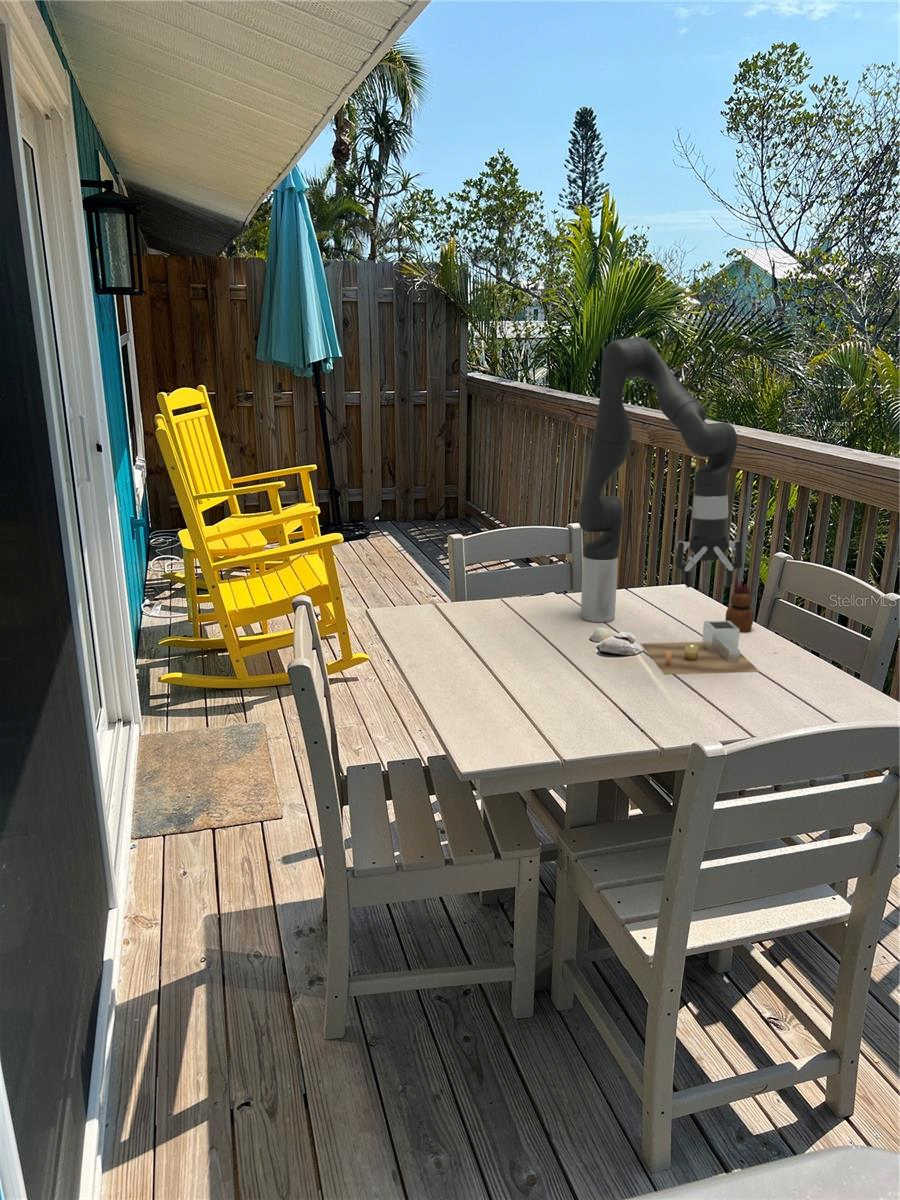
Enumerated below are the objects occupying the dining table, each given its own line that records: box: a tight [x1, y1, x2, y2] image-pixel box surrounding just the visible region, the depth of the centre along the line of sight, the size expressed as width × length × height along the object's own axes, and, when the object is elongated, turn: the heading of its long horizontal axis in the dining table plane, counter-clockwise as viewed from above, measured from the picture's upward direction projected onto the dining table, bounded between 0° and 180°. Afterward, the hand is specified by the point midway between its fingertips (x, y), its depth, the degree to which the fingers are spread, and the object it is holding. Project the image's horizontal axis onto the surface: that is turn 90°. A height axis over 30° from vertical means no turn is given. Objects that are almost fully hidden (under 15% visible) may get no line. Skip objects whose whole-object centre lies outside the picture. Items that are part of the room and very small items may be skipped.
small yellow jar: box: [684, 641, 699, 661], centre depth 207 cm, size 3×3×4 cm
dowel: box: [665, 651, 672, 665], centre depth 204 cm, size 1×1×3 cm
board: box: [640, 641, 761, 676], centre depth 209 cm, size 20×22×2 cm
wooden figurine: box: [725, 577, 755, 633], centre depth 226 cm, size 7×6×15 cm
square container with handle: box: [701, 620, 741, 663], centre depth 210 cm, size 12×6×6 cm, turn 4°
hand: (707, 586), depth 200 cm, fingers open, 8 cm apart
